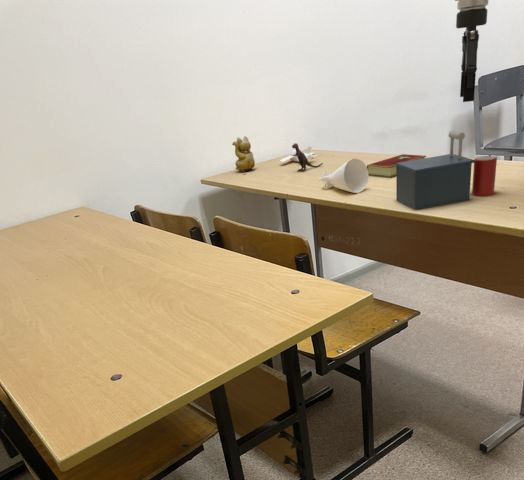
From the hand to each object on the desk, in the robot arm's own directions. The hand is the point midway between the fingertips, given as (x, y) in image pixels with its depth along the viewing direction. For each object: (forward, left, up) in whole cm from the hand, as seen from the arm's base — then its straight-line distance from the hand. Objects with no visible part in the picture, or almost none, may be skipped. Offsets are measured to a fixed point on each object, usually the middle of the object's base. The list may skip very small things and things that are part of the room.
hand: (466, 99), depth 148 cm
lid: (+6, -6, -18) cm, 19 cm away
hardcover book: (+2, -54, -29) cm, 62 cm away
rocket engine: (+27, -37, -29) cm, 54 cm away
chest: (+7, -5, -28) cm, 30 cm away
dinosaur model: (+32, -83, -29) cm, 94 cm away
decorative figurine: (+58, -101, -29) cm, 120 cm away
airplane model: (+32, -102, -29) cm, 111 cm away
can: (-9, -4, -28) cm, 30 cm away
